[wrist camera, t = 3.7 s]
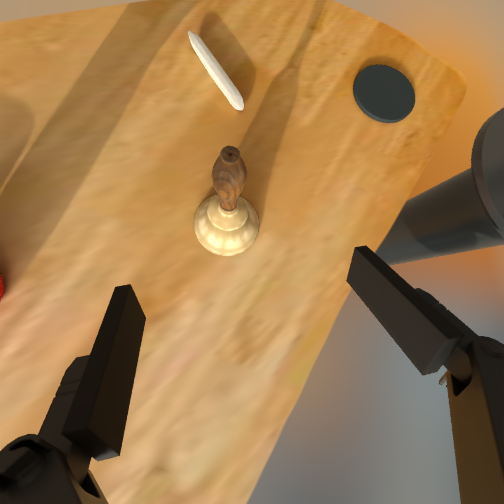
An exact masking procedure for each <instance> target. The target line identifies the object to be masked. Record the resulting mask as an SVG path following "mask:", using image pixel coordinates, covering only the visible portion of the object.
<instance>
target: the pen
mask: <svg viewBox="0 0 504 504" xmlns="http://www.w3.org/2000/svg"><path fill="white" fill-rule="evenodd" d="M188 34H189V38H190V42H191V44H192V46H193V49H194V50H195V52H196V54H197V55H198V57H199V59H200V60H201V62H202V63H203V65H204V66H205V68H206V70H207V71H208V73H209V74H210V76H211V77H212V78H213V80H214V81H215V83H216V84H217V85H218V87H219V88H220V89H221V91H222V92H223V94H224V95H225V96H226V98H227V99H228V101H229V102H230V103H231V105H232V106H233V107H234V108H235V109H237V110H243V108H244V103H243V98H242V96H241V95H240V93H239V91H238V90H237V88H236V87H235V85H234V84H233V83H232V81H231V80H230V78H229V77H228V76H227V74H226V73H225V71H224V70H223V69H222V67H221V66H220V64H219V63H218V62H217V60H216V59H215V58H214V56H213V55H212V53H211V52H210V51H209V49H208V48H207V47H206V45H205V44H204V43H203V41H202V40H201V39H200V37H199V36H198V35H196V34H195V33H193V32H191V31H189V30H188Z"/></svg>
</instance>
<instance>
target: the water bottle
mask: <svg viewBox="0 0 504 504" xmlns="http://www.w3.org/2000/svg"><path fill="white" fill-rule="evenodd" d="M4 292H5V291H4V283H3V278H2V276H1V275H0V301H1V298H2V296H3V294H4Z"/></svg>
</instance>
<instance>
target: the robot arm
mask: <svg viewBox="0 0 504 504" xmlns="http://www.w3.org/2000/svg"><path fill="white" fill-rule="evenodd" d="M346 281H347V282H348V283H349V285H350V286H351V287H352V288H353V290H354V291H355V292H356V293H357V295H358V296H359V297H360V298H361V299H362V301H363V302H364V303H365V304H366V306H367V307H368V308H369V309H370V311H371V312H372V313H373V314H374V315H375V317H376V318H377V319H378V321H379V322H380V323H381V324H382V326H383V327H384V328H385V329H386V331H387V332H388V333H389V334H390V336H391V337H392V338H393V339H394V341H395V342H396V343H397V344H398V345H399V347H400V348H401V349H402V350H403V352H404V353H405V354H406V355H407V357H408V358H409V359H410V360H411V362H412V363H413V364H414V365H415V367H416V368H417V369H418V370H419V372H420V373H421V374H422V375H426V374H431V373H434V372H437V371H438V370H439V369H440V367H441V366H442V365H444V366H445V367H446V368H447V369H448V370H447V372H446V373H445V374H444V375H443V377H442V378H441V379H440V381H439V384H440V385H442V384H443V383H444V382H445V381H447V385H446V387H447V389H448V398H449V405H450V415H451V423H452V432H453V440H454V448H455V457H456V465H457V473H458V482H459V491H460V499H461V504H504V344H502V343H500V342H499V341H497V340H495V339H492V338H489V337H484V336H478V335H477V334H475V333H474V332H473V331H472V330H471V329H470V328H469V327H468V326H466V325H465V324H464V323H463V322H462V321H461V320H459V319H458V318H457V317H456V316H455V315H454V314H453V313H451V312H450V311H449V310H447V309H446V308H445V307H444V306H443V305H442V304H440V303H439V301H437V300H436V299H435V298H434V297H433V296H432V295H431V294H429V293H427V292H425V291H423V290H422V289H420V288H417V289H414V288H413V287H411V286H410V285H409V284H408V283H407V282H406V281H405V280H404V279H403V278H401V277H400V276H399V275H398V274H397V273H396V272H395V271H394V270H393V269H391V268H390V267H389V266H388V265H387V264H386V263H385V262H384V261H383V260H382V259H381V258H379V257H378V256H377V255H376V254H375V253H374V252H373V251H372V250H371V249H369V248H368V247H367V246H360V247H355V249H354V253H353V257H352V261H351V265H350V269H349V272H348V276H347V280H346ZM145 321H146V317H145V315H144V313H143V310H142V308H141V306H140V304H139V302H138V299H137V297H136V295H135V293H134V291H133V288H132V286H131V284H129V285H123V286H117V287H115V289H114V292H113V295H112V297H111V300H110V303H109V305H108V308H107V311H106V313H105V316H104V319H103V321H102V324H101V327H100V329H99V332H98V335H97V337H96V340H95V343H94V345H93V348H92V351H91V353H90V355H87V356H82V357H77V358H76V359H75V360H74V361H73V362H72V364H71V365H70V366H69V367H68V368H67V370H66V372H65V374H64V376H63V378H62V381H61V383H60V386H59V388H58V390H57V392H56V394H55V395H56V397H55V398H54V399H53V401H52V404H51V406H50V408H49V410H48V413H47V415H46V417H45V420H44V422H43V424H42V426H41V429H40V431H39V433H38V435H36V434H27V435H24V436H21V437H18V438H17V439H15V440H14V441H12V442H11V443H9V444H8V445H6V446H5V447H4V448H3V449H2V450H1V451H0V504H108V502H107V500H106V498H105V496H104V495H103V493H102V491H101V489H100V487H99V485H98V484H97V482H96V480H95V478H94V476H93V474H92V473H91V471H90V470H89V469H88V468H89V464H90V461H91V457H93V458H94V459H95V460H97V461H101V460H105V459H109V458H113V457H116V456H120V452H121V447H122V441H123V436H124V431H125V426H126V420H127V415H128V410H129V405H130V399H131V394H132V389H133V384H134V378H135V373H136V368H137V363H138V357H139V352H140V347H141V342H142V336H143V331H144V326H145Z"/></svg>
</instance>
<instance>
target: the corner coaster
mask: <svg viewBox="0 0 504 504" xmlns="http://www.w3.org/2000/svg"><path fill="white" fill-rule="evenodd" d="M353 93H354V97H355V100H356V102H357V104H358V106H359V107H360V108H361V110H362V111H363V112H364V113H365V114H367V115H368V116H369V117H371V118H373V119H375V120H377V121H380V122H384V123H394V122H398V121H400V120H403V119H404V118H405V117H406V116H408V115H409V114H410V112H411V111H412V109H413V107H414V104H415V93H414V89H413V87H412V85H411V83H410V82H409V80H408V79H407V78H406V77H405V76H404V75H403V74H402V73H401V72H400V71H398V70H396V69H394V68H392V67H390V66H386V65H371V66H368V67H366V68H364V69H363V70H362V71H361V72H360V73H359V74H358V76H357V78H356V79H355V82H354V86H353Z"/></svg>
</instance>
